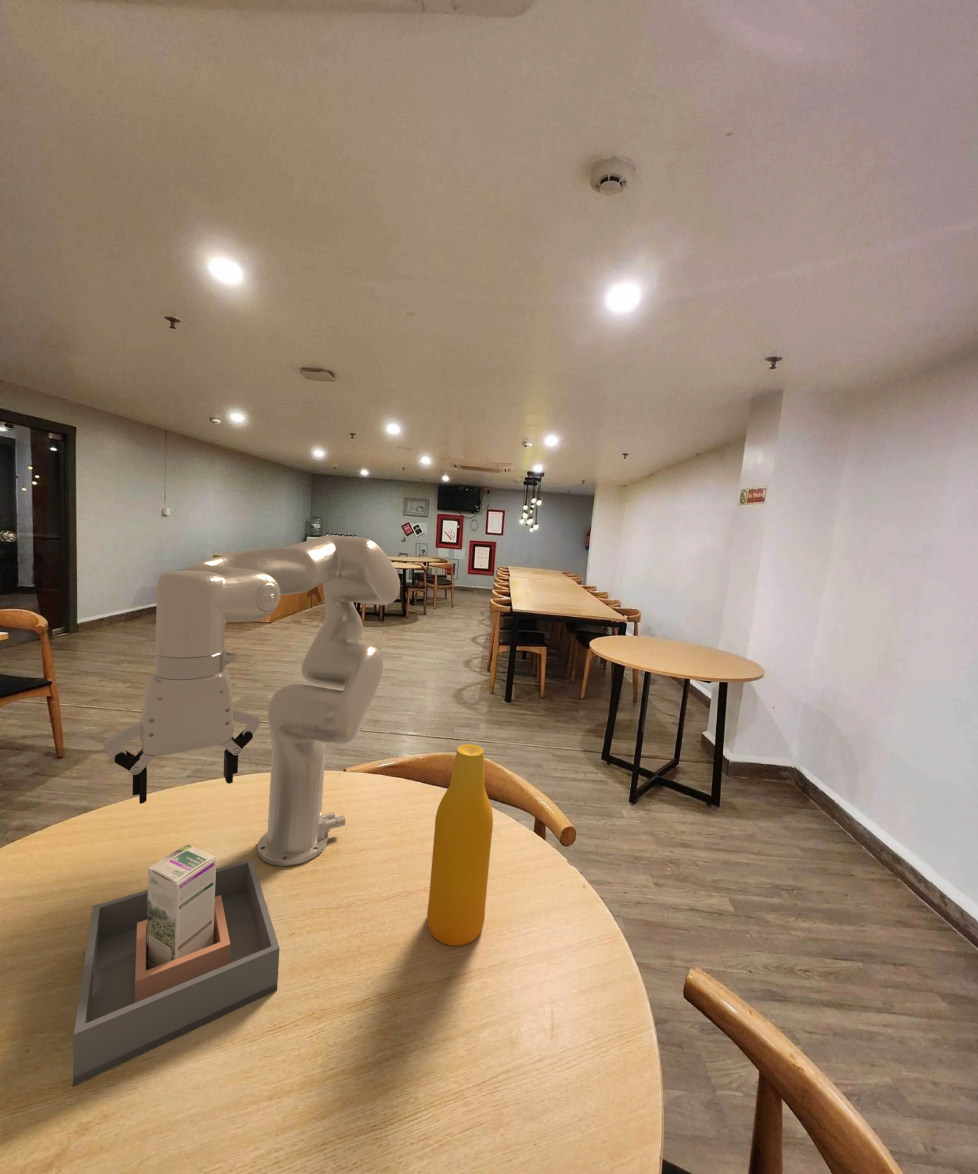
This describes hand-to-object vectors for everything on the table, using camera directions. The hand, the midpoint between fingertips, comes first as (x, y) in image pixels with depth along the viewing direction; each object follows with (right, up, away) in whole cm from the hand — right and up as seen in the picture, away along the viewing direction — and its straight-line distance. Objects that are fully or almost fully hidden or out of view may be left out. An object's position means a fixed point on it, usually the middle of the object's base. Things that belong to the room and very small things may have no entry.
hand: (187, 788), depth 61 cm
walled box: (-1, -25, +1) cm, 25 cm away
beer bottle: (+35, -27, +12) cm, 46 cm away
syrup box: (-1, -24, 0) cm, 24 cm away
